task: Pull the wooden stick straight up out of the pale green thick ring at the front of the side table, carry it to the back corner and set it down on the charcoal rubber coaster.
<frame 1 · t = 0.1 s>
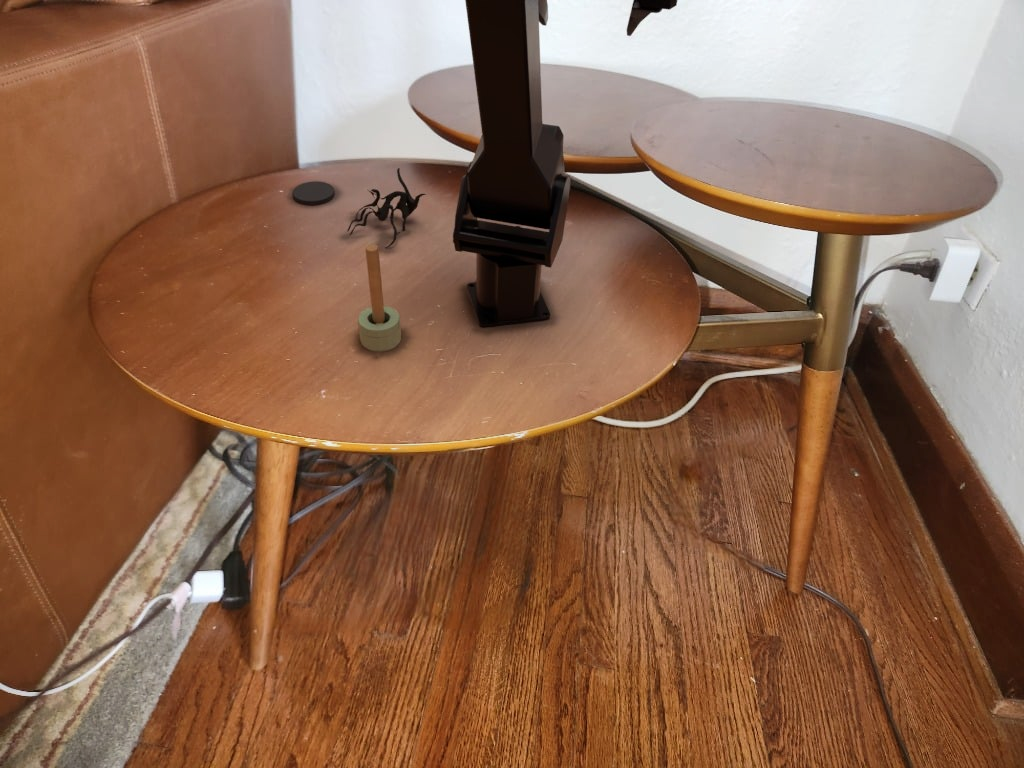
hand: (587, 27, 84), 15 cm above the table, tool tilted 35°, fingers open, 9 cm apart
pale green thick ring: (381, 341, 67), on the table
wooden stick: (380, 338, 66), resting on pale green thick ring
coaster: (314, 195, 85), on the table
creature: (383, 231, 80), on the table
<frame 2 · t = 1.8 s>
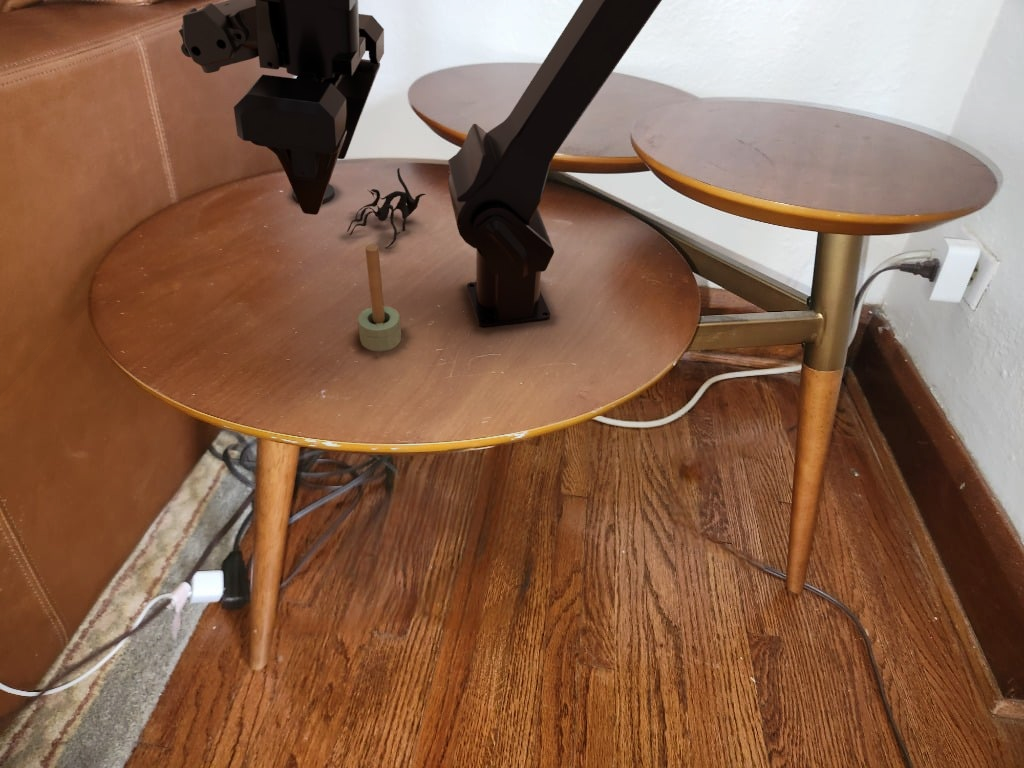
hand: (325, 184, 60), 13 cm above the table, tool pointing down, fingers open, 9 cm apart
nothing on the table moved.
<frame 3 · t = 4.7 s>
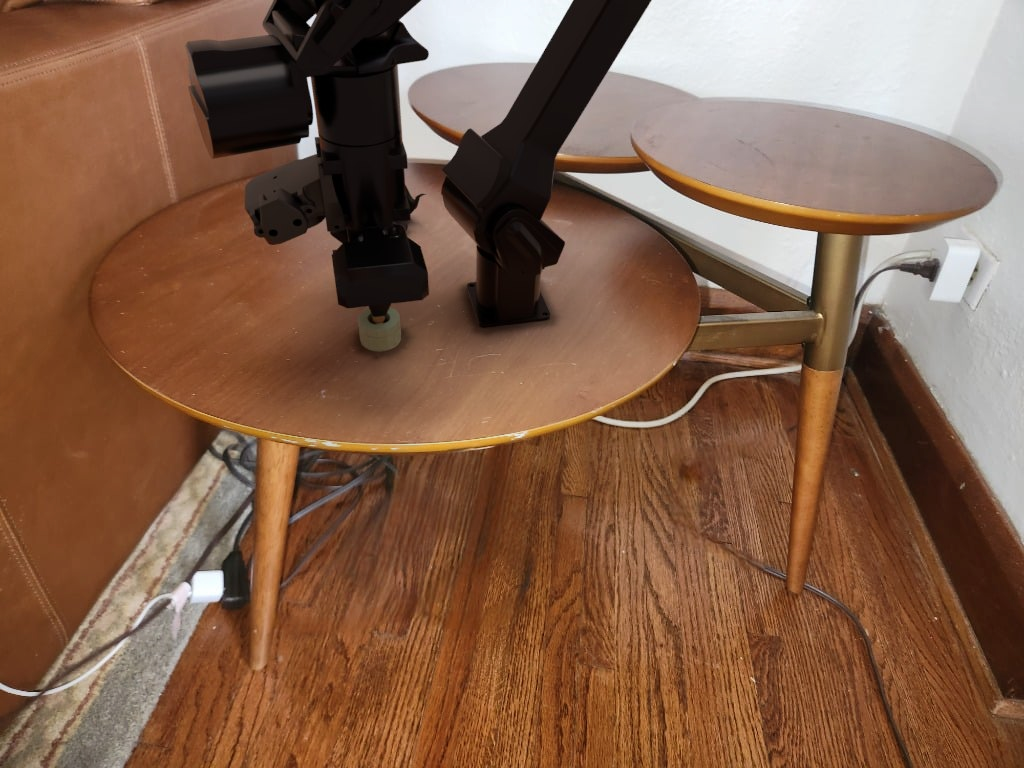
hand: (378, 310, 65), 3 cm above the table, tool pointing down, fingers closed on wooden stick, 1 cm apart
wooden stick: (380, 338, 66), resting on pale green thick ring, touching gripper
everything else where it was.
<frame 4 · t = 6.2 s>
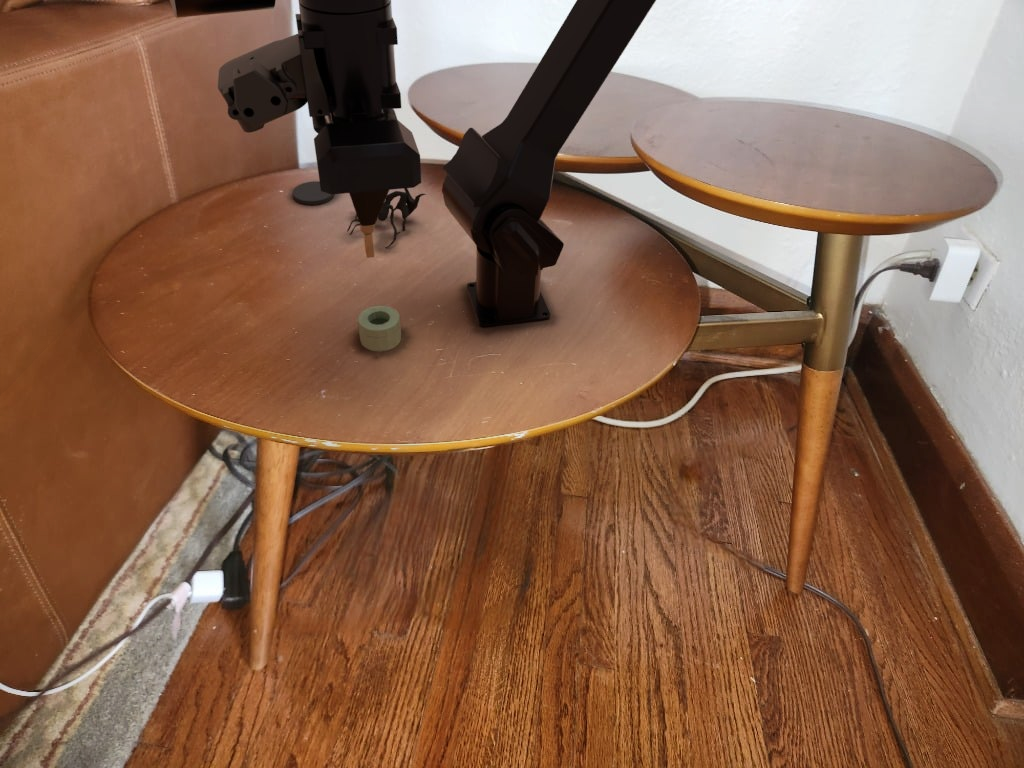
hand: (366, 220, 59), 11 cm above the table, tool pointing down, fingers closed on wooden stick
wooden stick: (369, 253, 61), point 8 cm above the table, touching gripper
everything else where it was.
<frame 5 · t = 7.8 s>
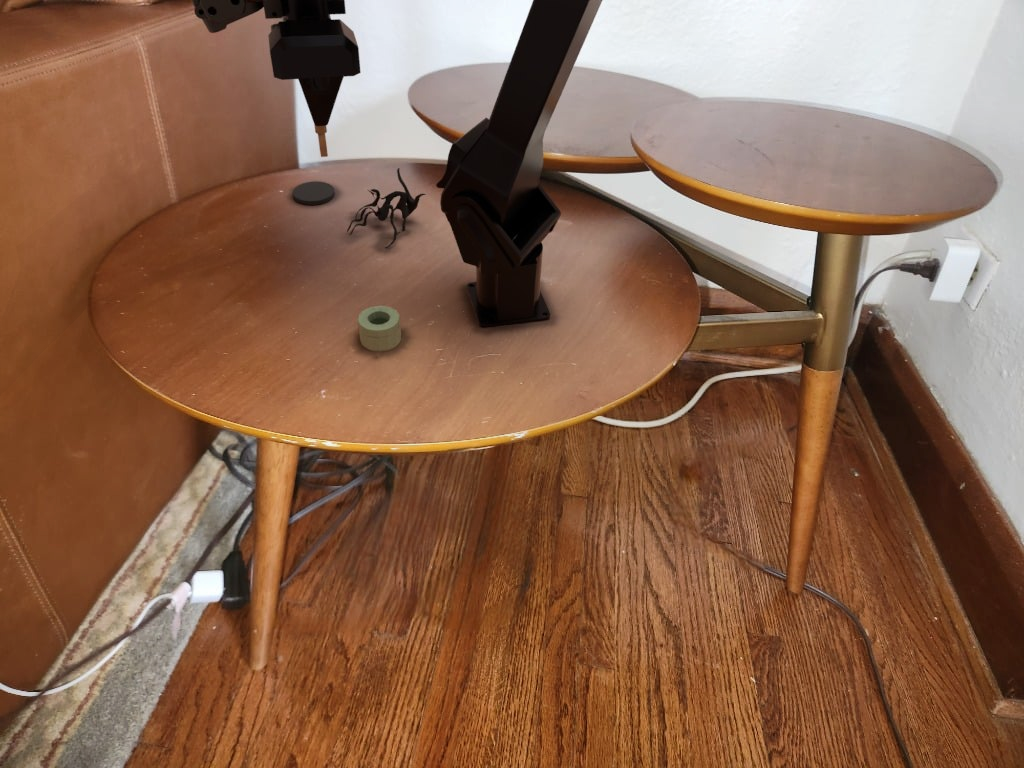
hand: (320, 121, 68), 13 cm above the table, tool pointing down, fingers closed on wooden stick
wooden stick: (323, 153, 70), point 10 cm above the table, touching gripper
everything else where it was.
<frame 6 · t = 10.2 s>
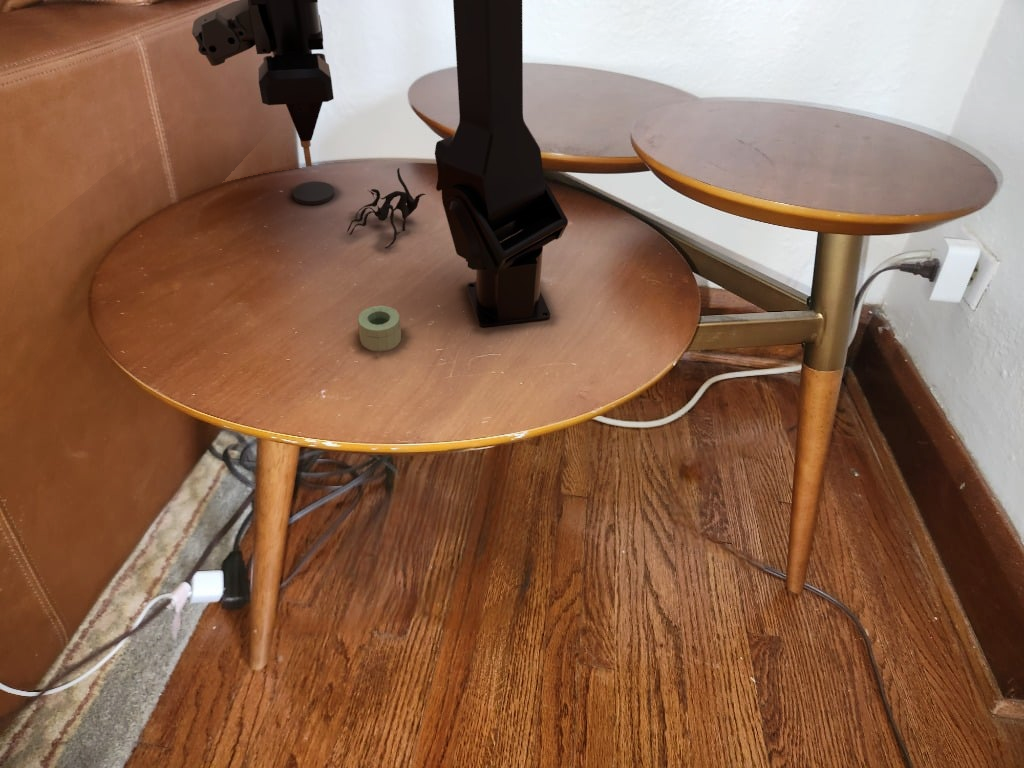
hand: (305, 137, 80), 7 cm above the table, tool pointing down, fingers closed on wooden stick
wooden stick: (308, 163, 82), point 4 cm above the table, touching gripper
everything else where it was.
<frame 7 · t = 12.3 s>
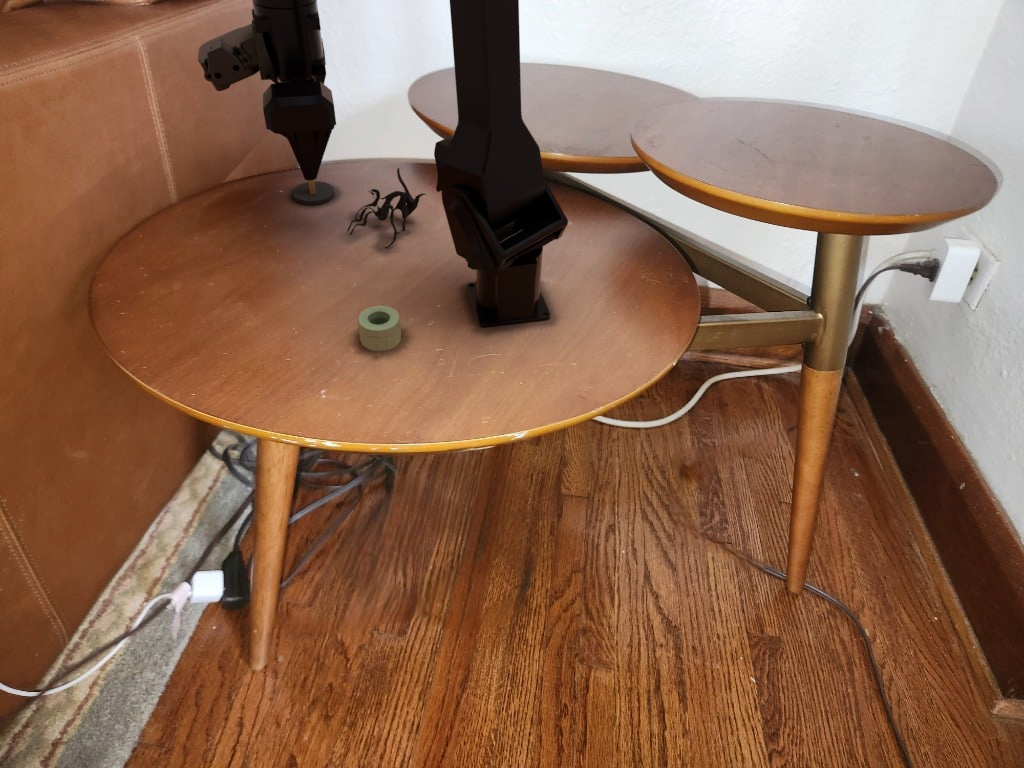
hand: (308, 158, 82), 4 cm above the table, tool pointing down, fingers open, 9 cm apart
wooden stick: (312, 191, 84), resting on coaster
everything else where it was.
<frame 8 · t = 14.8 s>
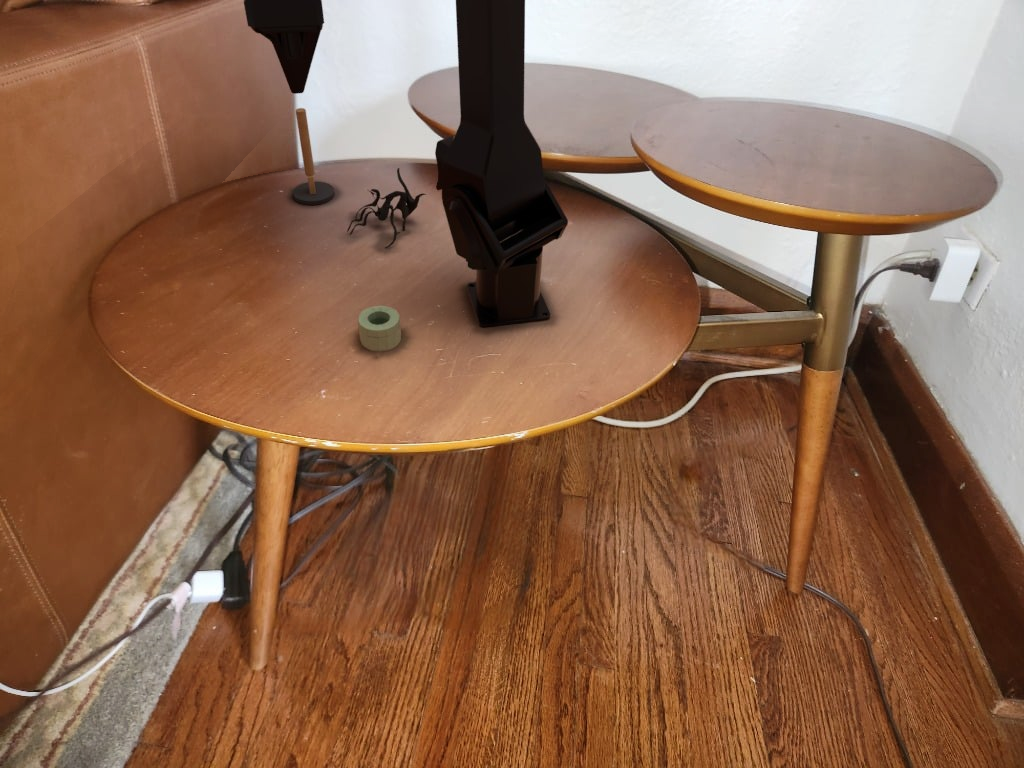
hand: (295, 74, 76), 13 cm above the table, tool pointing down, fingers open, 9 cm apart
nothing on the table moved.
at the end: wooden stick inside the target area on the coaster (0.1 cm from its centre), point 0.5 cm above the coaster's base; wooden stick touching coaster; the gripper is holding nothing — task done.
